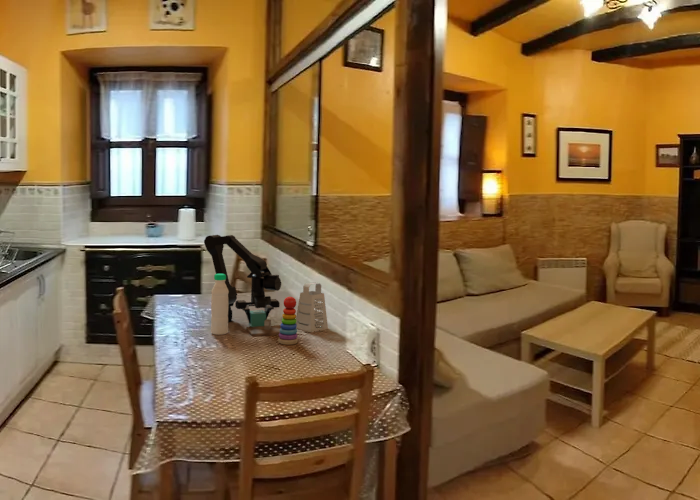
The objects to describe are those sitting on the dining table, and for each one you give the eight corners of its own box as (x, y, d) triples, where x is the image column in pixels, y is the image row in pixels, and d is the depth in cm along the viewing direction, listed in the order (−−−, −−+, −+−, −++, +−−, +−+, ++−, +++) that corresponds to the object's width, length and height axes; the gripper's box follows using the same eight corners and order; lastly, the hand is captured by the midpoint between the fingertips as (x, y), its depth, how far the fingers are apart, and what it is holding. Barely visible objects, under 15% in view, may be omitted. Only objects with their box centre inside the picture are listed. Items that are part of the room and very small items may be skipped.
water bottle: (231, 332, 262) (232, 273, 259) (221, 336, 256) (221, 276, 253) (217, 330, 265) (218, 272, 262) (207, 333, 259) (207, 274, 256)
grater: (328, 328, 275) (329, 283, 272) (310, 332, 267) (311, 286, 265) (311, 324, 282) (312, 280, 280) (294, 327, 274) (295, 283, 272)
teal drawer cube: (251, 327, 272) (251, 313, 271) (248, 324, 278) (248, 310, 277) (265, 326, 274) (266, 312, 274) (262, 323, 280) (263, 309, 280)
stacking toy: (282, 346, 244) (283, 299, 242) (275, 341, 251) (276, 295, 249) (300, 344, 248) (302, 297, 246) (293, 339, 255) (294, 294, 253)
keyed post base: (251, 336, 257) (251, 324, 257) (246, 329, 268) (246, 317, 268) (289, 334, 263) (289, 322, 262) (282, 327, 274) (282, 316, 273)
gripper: (239, 292, 263) (239, 328, 265) (282, 291, 270) (282, 326, 272) (235, 287, 274) (234, 322, 276) (276, 286, 280) (276, 320, 282)
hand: (257, 323), depth 276 cm, fingers closed on teal drawer cube, 6 cm apart
